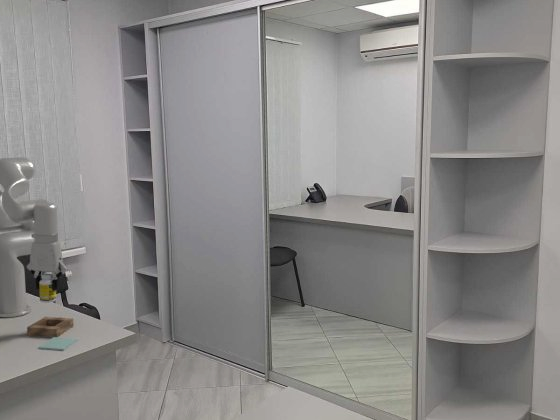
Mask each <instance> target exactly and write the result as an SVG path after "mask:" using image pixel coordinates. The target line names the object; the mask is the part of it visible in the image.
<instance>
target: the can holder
mask: <svg viewBox="0 0 560 420" xmlns="http://www.w3.org/2000/svg"><path fill="white" fill-rule="evenodd" d="M74 325H75V323H74V318H71V317H70V318H68V317H54V316H44V317H42V318H41V319H39V320H37V321H35V322H34V323H32V324H31V325H29V326H27V328H26V329H27V336H31V337H44V338H45V337H46V338H47V337H48V338H53V337H59V338H60V336H62V335H63V334H65V333H66V332H68V331H69V330H71V329H72V328H73V326H74ZM70 328H71V329H70ZM67 330H68V331H67ZM64 332H65V333H64ZM61 334H62V335H61Z"/></svg>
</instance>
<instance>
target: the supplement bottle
mask: <svg viewBox="0 0 560 420" xmlns="http://www.w3.org/2000/svg"><path fill="white" fill-rule="evenodd" d="M41 278H42V280H40V282H39V289H38V290H39V301H40V303H46V304H47V303H53V302H55V301H56V300H57V290H55V291H54V290H52V280H53V279H54V278H53V275H52V272H42V274H41Z"/></svg>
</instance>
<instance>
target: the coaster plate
mask: <svg viewBox="0 0 560 420" xmlns="http://www.w3.org/2000/svg"><path fill="white" fill-rule="evenodd" d="M77 342H79V338H70V337H60V336H59V337H51V339H49V340H47V341H46V342H44V343H42V344H40V345H39V346H38V349H40V350H53V351H66V350H67V349H68V348H70V347H71V346H72V345H74V344H75V343H77Z"/></svg>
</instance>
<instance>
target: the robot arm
mask: <svg viewBox="0 0 560 420" xmlns="http://www.w3.org/2000/svg"><path fill="white" fill-rule="evenodd" d="M34 175H35V166H34V163H33V161H31V159H29V158H28V157H2V158H0V185H1V186H2V188H3V189H4V190H3V192H2V191H1V190H0V233H1V234H0V318H16V317H20V316H24V315H27V314H29V313H30V312H31V311H32V307H31V306H29V305H27V293H26V291H27V290H26V275H25V266H24V264H23V263H22V262H21V260H19V259H18V257H22V256H28V255H29V263H27V265H26V268H27V270H28V271H30V273H31V274H32V275H33V278H34V279H35V287H36V290H39V282H40V280H42V278H41V274H42V273H47V272H51V273H52V275H53V280H52V290H54V291H55V290H56V291H57V290H58V289H60V286H61V285H60V278H61V277H62V276H63V275H64V274H65V273H66V272H68V270H69V269H68V267H67V266H66V265H65V263H64V260H63V251H62V247H61V242H60V241H59V235H58V233H59V232H58V231H59V229H58V226H59V225H58V207H57V205H56V204H55V203H53V202H49V200H46V199H29V200H20V201H16V199H18V198H21V197H22V196H23V195H25V194H26V193H27V192H28V191H29V189H30V181H29V180H30V179H32V178H33V177H34ZM3 232H4V233H3Z"/></svg>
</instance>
